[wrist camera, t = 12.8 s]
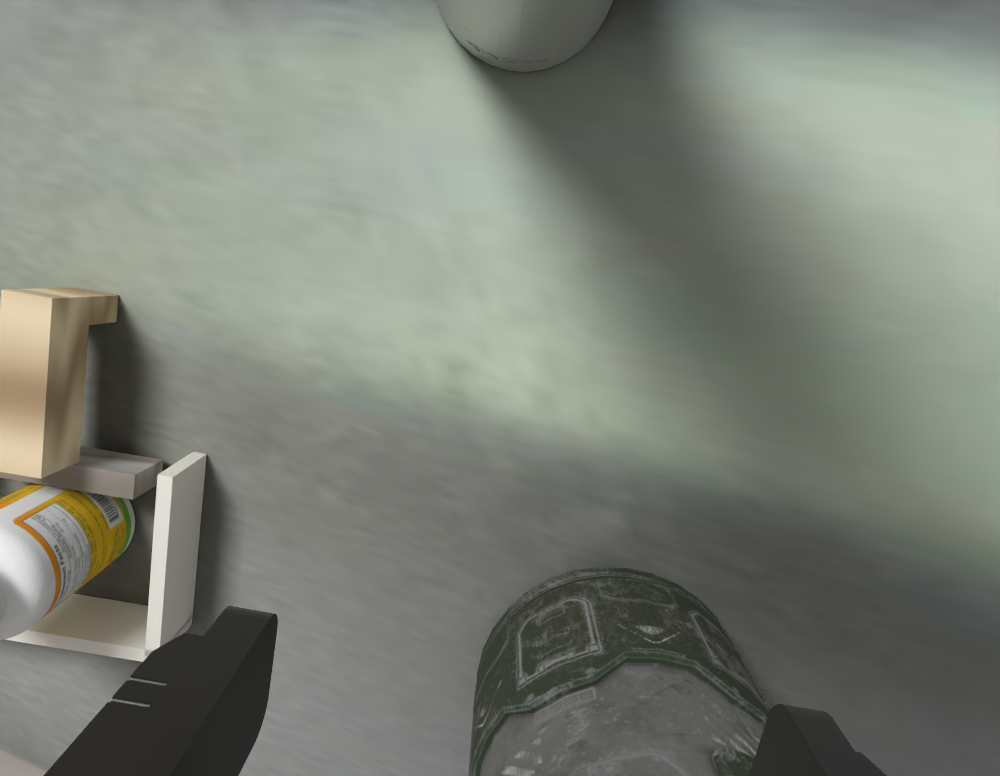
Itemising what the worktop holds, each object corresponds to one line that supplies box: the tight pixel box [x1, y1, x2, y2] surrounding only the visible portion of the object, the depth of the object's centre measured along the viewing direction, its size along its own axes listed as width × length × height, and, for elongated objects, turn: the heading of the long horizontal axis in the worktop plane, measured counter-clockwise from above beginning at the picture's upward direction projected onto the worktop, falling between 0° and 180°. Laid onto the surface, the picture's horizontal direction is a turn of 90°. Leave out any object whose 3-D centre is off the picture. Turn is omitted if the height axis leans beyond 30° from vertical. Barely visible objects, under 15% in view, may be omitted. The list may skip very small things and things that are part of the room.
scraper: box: [0, 288, 163, 500], centre depth 35 cm, size 10×9×6 cm
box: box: [5, 452, 207, 662], centre depth 38 cm, size 11×14×4 cm
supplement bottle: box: [0, 483, 135, 640], centre depth 34 cm, size 6×6×11 cm
